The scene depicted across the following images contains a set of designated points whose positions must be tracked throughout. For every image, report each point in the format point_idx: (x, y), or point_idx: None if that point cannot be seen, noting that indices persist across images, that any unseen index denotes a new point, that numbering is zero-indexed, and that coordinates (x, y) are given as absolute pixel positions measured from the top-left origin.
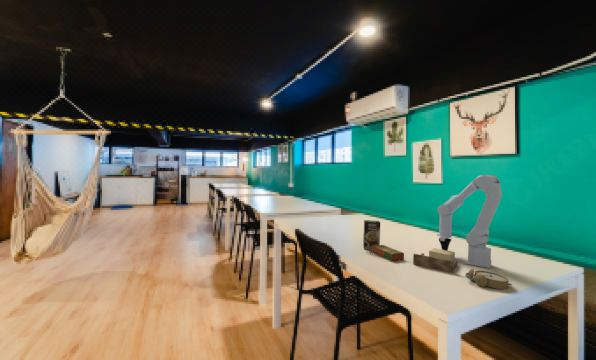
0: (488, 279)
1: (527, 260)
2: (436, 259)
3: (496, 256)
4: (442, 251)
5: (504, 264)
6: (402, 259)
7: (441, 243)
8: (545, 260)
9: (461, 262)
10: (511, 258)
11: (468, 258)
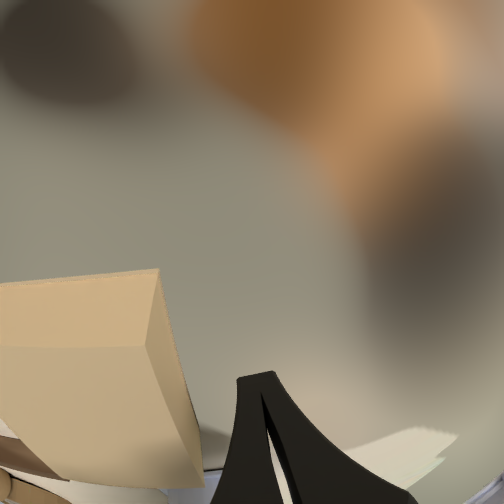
0: (3, 500)
1: (415, 469)
2: None
3: (430, 438)
4: (88, 445)
5: None
6: None
7: (218, 501)
8: (434, 466)
9: None
10: (421, 456)
11: (183, 501)
